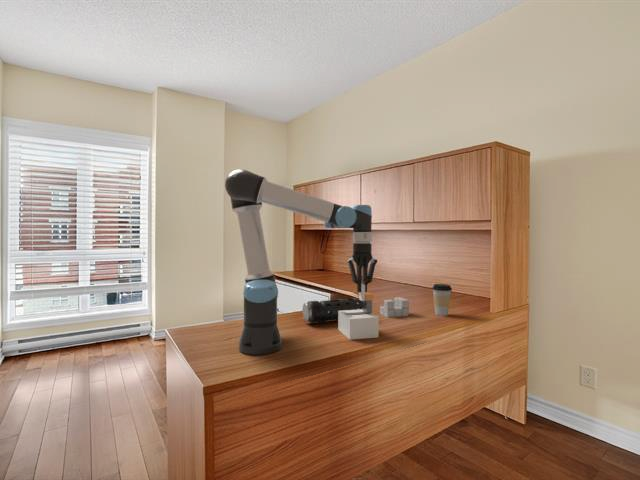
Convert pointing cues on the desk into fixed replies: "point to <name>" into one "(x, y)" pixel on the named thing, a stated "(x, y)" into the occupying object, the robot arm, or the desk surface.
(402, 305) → the puzzle cube
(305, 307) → the muzzle brake
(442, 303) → the coffee cup
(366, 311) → the breaker toggle
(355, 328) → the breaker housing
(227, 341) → the desk surface
